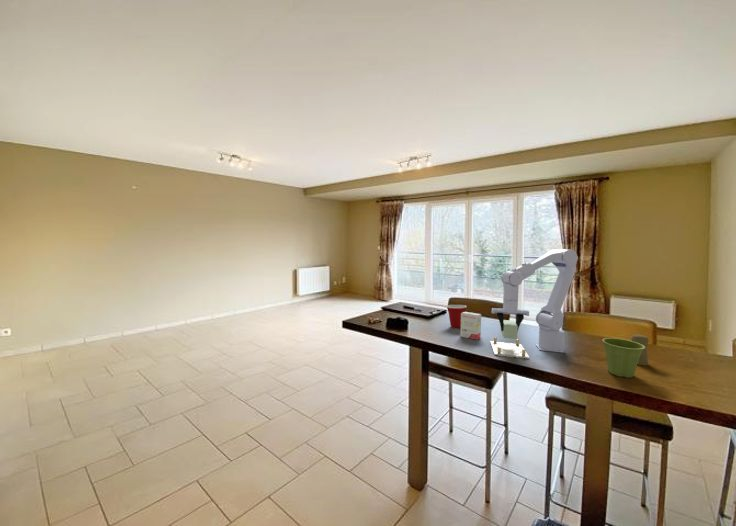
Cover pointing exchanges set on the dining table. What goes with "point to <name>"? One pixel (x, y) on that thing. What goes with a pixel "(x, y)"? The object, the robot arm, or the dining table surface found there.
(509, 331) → the board block
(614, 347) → the plant pot
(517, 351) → the chassis plate
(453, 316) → the plastic cup
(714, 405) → the dining table surface
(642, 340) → the grey upright block
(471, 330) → the ink box
